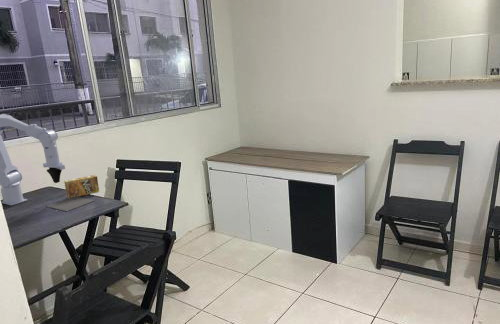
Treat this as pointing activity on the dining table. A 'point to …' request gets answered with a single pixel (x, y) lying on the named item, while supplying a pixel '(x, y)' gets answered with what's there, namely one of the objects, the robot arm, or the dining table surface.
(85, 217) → the dining table surface
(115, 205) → the dining table surface
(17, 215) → the dining table surface
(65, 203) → the mat
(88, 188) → the candy box
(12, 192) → the robot arm
